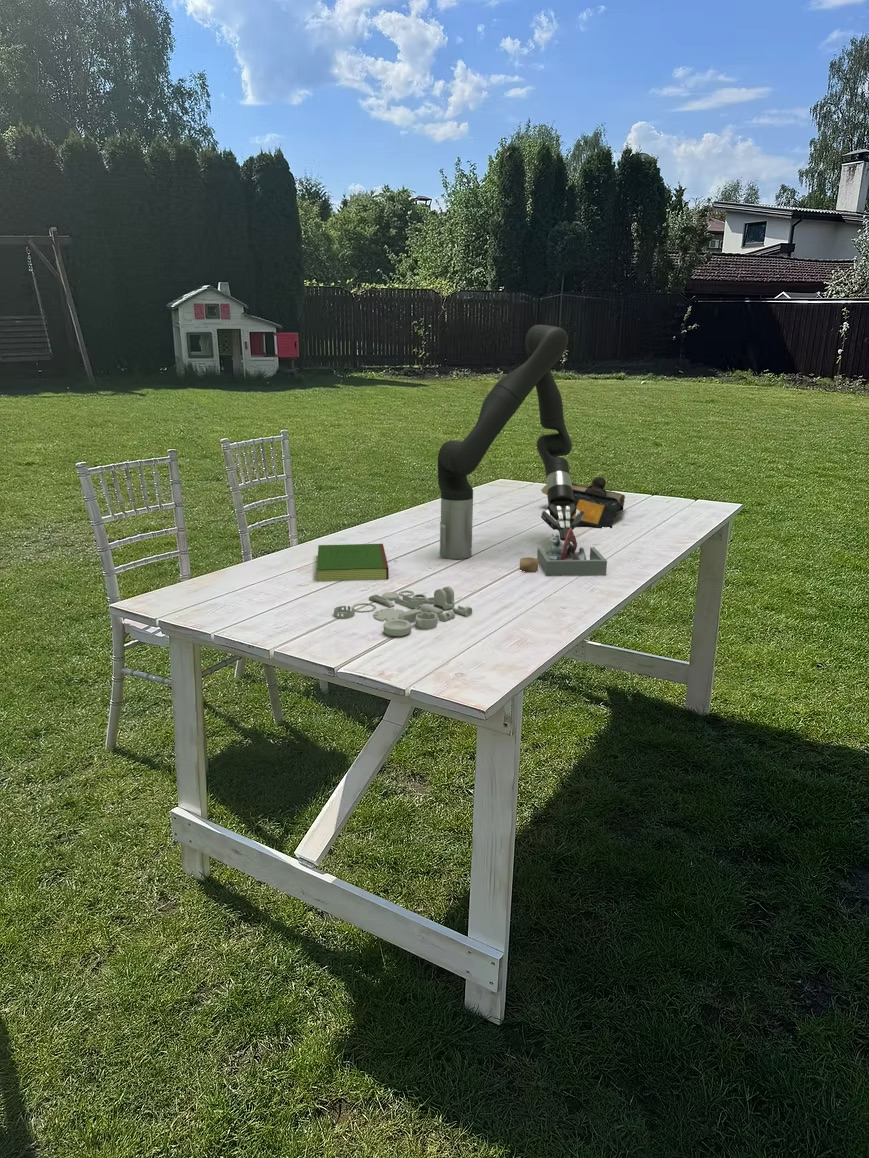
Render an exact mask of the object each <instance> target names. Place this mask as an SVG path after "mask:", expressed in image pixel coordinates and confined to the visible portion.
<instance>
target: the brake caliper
mask: <svg viewBox="0 0 869 1158" xmlns="http://www.w3.org/2000/svg"><path fill="white" fill-rule="evenodd" d="M550 542H551V543H552V545H551V549H550V550H551V551H550V553H551V555H547V556H548V557H549V559H550V560H587V557H586V553H585V549H584V547H583V546H580V547H579V550H578V551H577V548H578V542H577V539H576V536H575V533H574V529H573V530H572V528H570V529H569V530H568V533H567V536H566V539H565V541H562V540H560V535H559V533H558V534H554V533H553V534H552V537H550Z"/></svg>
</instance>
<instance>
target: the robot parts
mask: <svg viewBox="0 0 869 1158" xmlns="http://www.w3.org/2000/svg"><path fill="white" fill-rule="evenodd" d="M404 593H405V594H404ZM406 593H409V594H406ZM400 596H401V597H402V599H401V598H400ZM368 601H371V602H378V603H381V604H383V605H385V606H386V607H387V608H382V609H380V610H377V606H376V605H375V604H373V603H371V602H370V603H369V602H361V603H355V604H353V606H351V605H350V606H349V605H347V606H346V605H340V606H337V607H335V608H333V617H335V618H336V619H342V620H343V619H344V620H345V619H350V618H351V619H352V618H353V617H355V613H360V614H361V613H363V614H364V613H370V612H373V611H375V610H376V611H375V612H374V613H373V614H372V617H373V619H375V620H376V621H379V622H384V621H385V622H384V623H383V633H384V634H386V635H387V636H390V637H404V636H407V635H409V634H410V633H411V632H412V623H415V627H416V628H419V629H420V630H421V629H422V630H430V629H432V630H433V629H434V628H437V625H438V622H439V621H442V622H448V620H453V619H455V617H456V613H457V614H459V615H462V616H464V617H470V616H472V614H473V608H472V607H470V606H465V607H464V606H462V605H458V606H457V608H456V607H455V591H454V590H453V588H452V587H451V586H445V587H443V588H438V589H436V590H434V592H433V597H427V595H426V594H424V593H416V594H415V592H414V591H413V590H402V591H401V590H400V591H399V592H398V593H397V592H395V591H390V592H388V591H387V592H384V593H383V594H382V595H378V594H373V595H370V596H369V597H368ZM393 601H394V603H396V604H398V605H400V606H404V607H406V608H410V609H409V610H407V611H405V610H404V609H399V608H395V609H394V607H395V604H394V603H393ZM364 605H365V606H371V607H373V608H372V609H370V610H369V609H368V610H367V609H366V610H358V609H355V608H356V607H358V606H364ZM432 605H433V606H432ZM444 610H445V611H446V610H449V611H446V612H444ZM342 615H343V616H342ZM438 620H439V621H438Z"/></svg>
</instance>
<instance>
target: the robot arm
mask: <svg viewBox="0 0 869 1158" xmlns="http://www.w3.org/2000/svg"><path fill="white" fill-rule="evenodd" d="M568 343H569V336H568V334H567V332H566V330H565V329H563V328H561V327H559V326H554V325H546V324H536V325H532V327H530V328H529V329H528V331H527V333H526V336H525V348H526V353H527V357H528V359H526V361H525V362H524V363H522V364H521V365H519V366H518V367H516V368H515V369H514V370H512V371H510V372H509V373H507V374H506V375H504V376H503V377H501V378H500V379H499V380H498V381H497V382H496V383H495V385H494V386H493V387H492V389H491V390H490V391H489V393H487V395H486V397H484V400H483V402H482V404H481V407H480V411H479V415H478V419H477V422H476V423H475V425H474V427H473V429H472V430H471V431H470V432H469V434H468V435H467V436H466V437H465V438H464V439H463V440H462V441H460V440H456V439H452V440H447V441H446V442H444V443H443V444H441V446H440V448H439V450H438V455H437V484H438V487H439V490H440V521H439V555H440V558H441V559H451V560H462V559H463V560H464V559H468V558H471V557H472V554H473V553H472V552H473V523H474V522H473V520H474V518H473V517H474V516H473V515H474V513H473V511H474V489H473V487H472V485H471V484H470V482H469V480H468V477H467V476H469V475H471V474H472V473H473V472H474V471H476V469H477V467H478V466H479V465H480V463H481V462H482V460H483V458H484V457H485V455H486V453H487V452H488V450H489V449H490V447H491V445H492V444H493V442H494V441H495V439H496V438H497V437H498V436H499V434H500V433H501V431H503V428H504V427H505V426H506V424H508V422H509V421H510V419H511V418H512V417H513V416H514V415H515V413H516V412H517V411H518V410H519V408H520V407H521V405H522V404H523V403H524V401H526V400H525V399H526V398H527V397H528V396H529V394H530V393H531V392H532V391H533V390H534V388H535V389H536V390H535V391H536V396H537V401H538V411H539V420H540V426H541V427H542V428H544V429H548V430H553V431H557V433H550V434H549V433H548V434H543V435H540V436H539V437H538V439H537V441H536V449H537V452H538V454H539V457H540V459H541V460H542V462H543V465H544V469H545V470H544V472H545V479H546V481H545V483H546V484H545V485H546V491H547V495H546V496H547V503H548V504H547V510H543V511H542V513H541V515H540V518H541V520H543V521H544V523H546V524H547V526H548V527H550V528H551V529H552V530H554V531H555V530H557V531H558V535H559V540H562V541H565V539H566V536H567V533H568V530H569V529H570V528H572V530H573V531H574V530H575V529H576V528H577V527H576V526H577V524H578V523H579V522H580V521H581V519H582V518H583V515H584V511H581V512H580V511H579V510H577V507H576V506H575V504H574V497H573V490H572V479H571V476H570V475H571V474H570V466H569V462H568V460H567V459H566V458H565V457H564V456H568V455H570V453H571V451H572V448H573V444H572V439H571V437H570V434H569V432H568V430H567V427H566V424H565V417H564V407H563V405H564V404H563V398H562V395H561V392H560V389H559V386H557V383H556V381H555V379H554V376H553V373H552V370H551V369H552V367H553V366H554V365H555V364H556V363H557V362H558V361H560V359H561V358H562V357H563V355H564V353H565V352H566V349H567V348H568ZM574 514H576V515H575V517H576V518H575V519H574V521H573V522H572V523H571V524H570V519H571V518H572V516H573V515H574Z"/></svg>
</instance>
